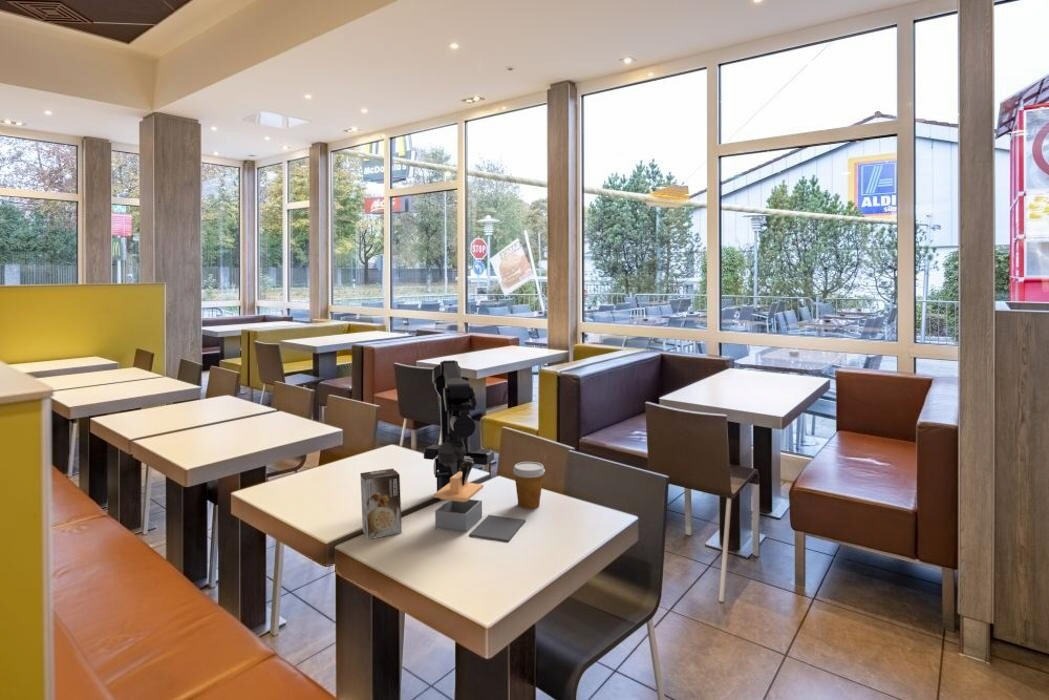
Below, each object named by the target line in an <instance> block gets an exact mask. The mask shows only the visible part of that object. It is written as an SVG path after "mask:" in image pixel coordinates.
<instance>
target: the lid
mask: <svg viewBox="0 0 1049 700" xmlns="http://www.w3.org/2000/svg"><path fill="white" fill-rule="evenodd" d="M483 488H484V484H482V483H472V482H468V479H467V481H466V484H465V485H464V486H462V472H460V471H459V472H458V473H456V474H455V475H454V476H452V477H451V478H450V483H449V484H447V485H446V486H444V487H443V488H442V489H440V490H439V491H438V492H437V491H436V492H435V493H433V498H435V499H439V500H444V501H448V500H450V501H458V502H465V501H468V500H469V499H472V497H473V496H475V495H476V494H478V492H480V491H481V490H482V489H483Z"/></svg>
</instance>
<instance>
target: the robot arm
mask: <svg viewBox="0 0 1049 700" xmlns="http://www.w3.org/2000/svg"><path fill="white" fill-rule="evenodd" d="M431 375H432V376H431V383H432V384H433V385H434V390H435V391H436V393H437V395H438V396H439V411H440V412H439V413H440V414H439V415H440V416H439V417H440V419H439V420H440V444H431V445H429V446H427V447H425V449H424V450H423V459H425V460H434V462H433V476H434V478H436V492H438V491H439V490H440V489H442V488H443V487H444V486H446V485H447V484H449V483H450V478H451V477H452V476H454V475H455V474H456V473H458V472H459V471H460V472H462V486H464V485H465V484H466V481H467V479H468V478H469V476H470V473H471V471H472V469H473V467H474V465H482V466H486V465H487V466H488V465H489V464H490V463H491V462H492V461H494V460H495V452H494V451H493V449H488V448H479V449H478V450H476V451H471V450H472V445H470V437H471V436H472V435H473V434H474V433H475V430H476V423H475V421H474V419H473V418H472V417H471V413H470V411H476V406H477V400H476V393H475V390H474V388H473V386H471V384H470V382H469V381H468V380H466V379H463V378H462V370H461V366H459V361H458V360H451V359H450V360H442V361H440V363H439V364H438V365H437V366H435V367H433V369H432V374H431Z"/></svg>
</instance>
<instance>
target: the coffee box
mask: <svg viewBox="0 0 1049 700" xmlns="http://www.w3.org/2000/svg"><path fill="white" fill-rule="evenodd" d="M400 477H401V476H400V473H399V472H398V471H397V470H395V469H394V468H388V469H386V468H385V469H380V470H373V471H365V472H360V493H361V495H360V496H361V516H362V517H361V518H362V519H361V520H362V521H361V522H362V532H363V533H364V535H365V537H366V536H367V537H366V538H367V539H368V538H372V539H375V538H374V537H377V538H380V536H382V537H386V536H391V535H395V534H401V533H403V532H402V529H403V528H402V503H401V499H402V498H401V480H400V479H401V478H400Z"/></svg>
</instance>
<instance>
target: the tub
mask: <svg viewBox="0 0 1049 700" xmlns="http://www.w3.org/2000/svg"><path fill="white" fill-rule="evenodd" d="M434 514H435V515H434V516H435V517H434V518H435V522H434V523H435V525H434V526H435V527H434V528H435V529H436V530H437V529H438V530H443V531H450V532H457V533H465V534H467V533H469V531H470V530H471V529H472V528H473V527H474V526H475V525H476V524H477V523H478V522H480V520H482V518H483V500H479V499H473V498H470V499H469V500H468V501H465V502H458V501H450V500H446V502H445V503H443V504H442V505H440V506H439V507H438V508H437V509H436V510H434Z"/></svg>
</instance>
